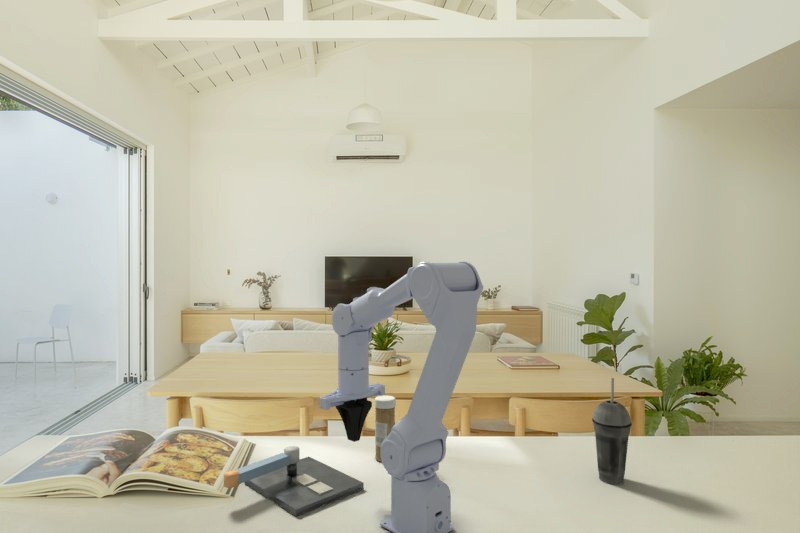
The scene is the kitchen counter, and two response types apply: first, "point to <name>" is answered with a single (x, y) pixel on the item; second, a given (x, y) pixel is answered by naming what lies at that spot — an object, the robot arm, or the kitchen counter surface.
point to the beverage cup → (611, 439)
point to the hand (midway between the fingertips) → (353, 439)
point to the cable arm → (261, 467)
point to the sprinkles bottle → (383, 420)
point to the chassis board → (305, 485)
